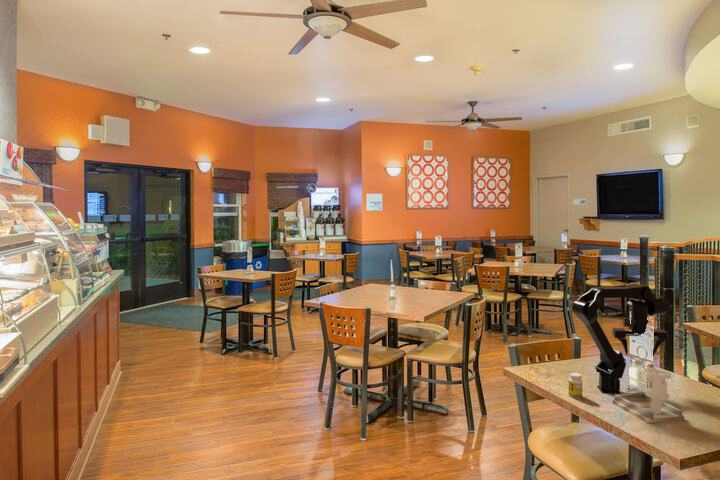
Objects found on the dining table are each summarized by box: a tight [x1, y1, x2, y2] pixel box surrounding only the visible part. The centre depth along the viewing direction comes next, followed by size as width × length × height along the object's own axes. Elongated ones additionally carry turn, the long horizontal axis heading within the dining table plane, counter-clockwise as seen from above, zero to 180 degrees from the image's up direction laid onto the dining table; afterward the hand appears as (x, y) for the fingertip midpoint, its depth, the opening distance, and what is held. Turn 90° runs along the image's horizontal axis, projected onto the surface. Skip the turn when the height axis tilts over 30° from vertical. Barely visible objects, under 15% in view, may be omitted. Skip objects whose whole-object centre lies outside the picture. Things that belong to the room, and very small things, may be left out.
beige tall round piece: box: [644, 366, 672, 414], centre depth 168 cm, size 7×7×15 cm
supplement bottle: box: [568, 372, 583, 399], centre depth 186 cm, size 5×5×8 cm
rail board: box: [611, 391, 685, 424], centre depth 173 cm, size 17×14×3 cm
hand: (639, 355), depth 194 cm, fingers open, 9 cm apart
